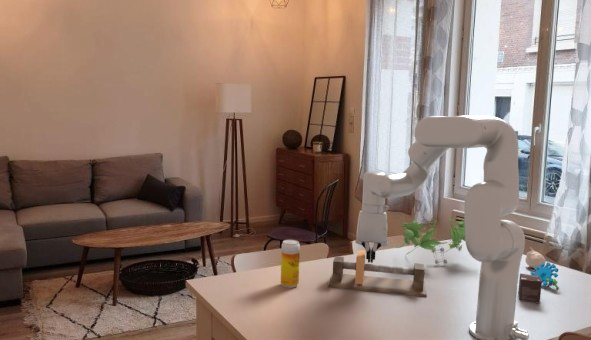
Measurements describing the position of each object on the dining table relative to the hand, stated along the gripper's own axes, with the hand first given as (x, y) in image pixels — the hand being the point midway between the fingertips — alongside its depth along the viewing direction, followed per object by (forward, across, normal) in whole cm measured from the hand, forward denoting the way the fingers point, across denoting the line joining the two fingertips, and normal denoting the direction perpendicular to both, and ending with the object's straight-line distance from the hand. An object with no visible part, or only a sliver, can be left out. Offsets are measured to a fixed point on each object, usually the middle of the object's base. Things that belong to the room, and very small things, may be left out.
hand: (370, 261), depth 170 cm
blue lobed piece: (+8, -60, -17) cm, 63 cm away
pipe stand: (+8, -3, 0) cm, 9 cm away
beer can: (+8, +26, +8) cm, 29 cm away
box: (+8, -51, -2) cm, 52 cm away
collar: (+7, +3, 0) cm, 7 cm away
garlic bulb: (+8, -62, -36) cm, 72 cm away
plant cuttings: (+8, -24, -33) cm, 42 cm away
